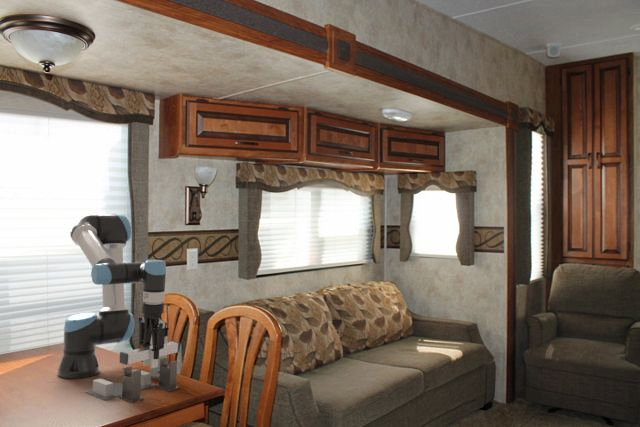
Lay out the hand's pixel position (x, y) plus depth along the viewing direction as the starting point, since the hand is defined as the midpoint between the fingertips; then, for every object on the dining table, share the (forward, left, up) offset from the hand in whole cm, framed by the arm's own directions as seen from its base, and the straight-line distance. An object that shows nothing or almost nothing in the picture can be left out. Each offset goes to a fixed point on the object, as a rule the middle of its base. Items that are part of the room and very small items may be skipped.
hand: (150, 366), depth 201 cm
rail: (0, 0, +3) cm, 3 cm away
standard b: (+1, +8, -10) cm, 13 cm away
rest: (-10, -4, -10) cm, 15 cm away
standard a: (+1, -8, -10) cm, 13 cm away
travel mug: (-12, +14, -10) cm, 21 cm away
